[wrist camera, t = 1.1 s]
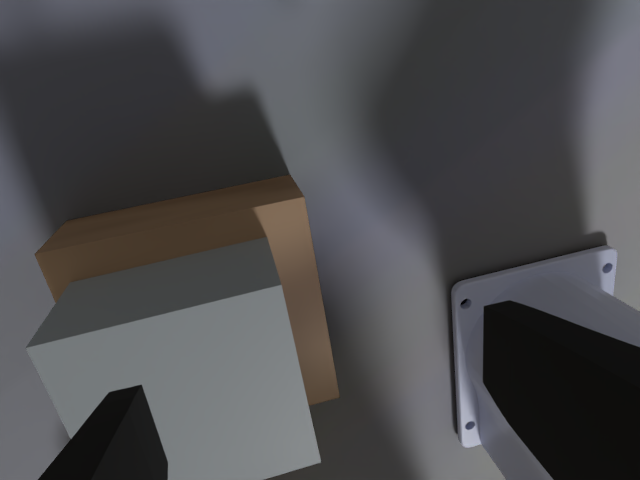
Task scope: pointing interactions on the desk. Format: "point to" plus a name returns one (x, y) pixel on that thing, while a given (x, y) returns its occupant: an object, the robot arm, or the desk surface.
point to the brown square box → (202, 235)
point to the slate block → (187, 360)
